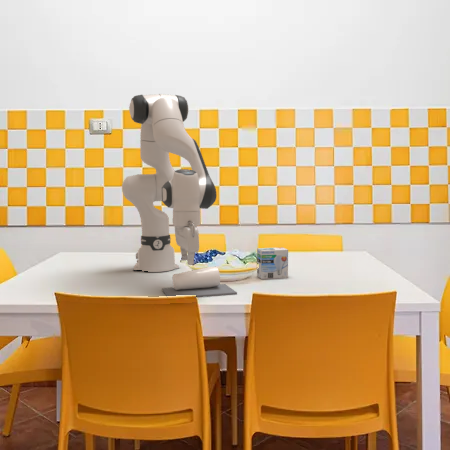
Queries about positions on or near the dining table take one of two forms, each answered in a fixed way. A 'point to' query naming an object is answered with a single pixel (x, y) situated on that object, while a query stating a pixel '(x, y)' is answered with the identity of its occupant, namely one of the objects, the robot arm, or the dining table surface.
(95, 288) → the dining table surface
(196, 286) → the drinking glass
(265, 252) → the light bulb box
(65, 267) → the dining table surface
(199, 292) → the slate rubber mat
